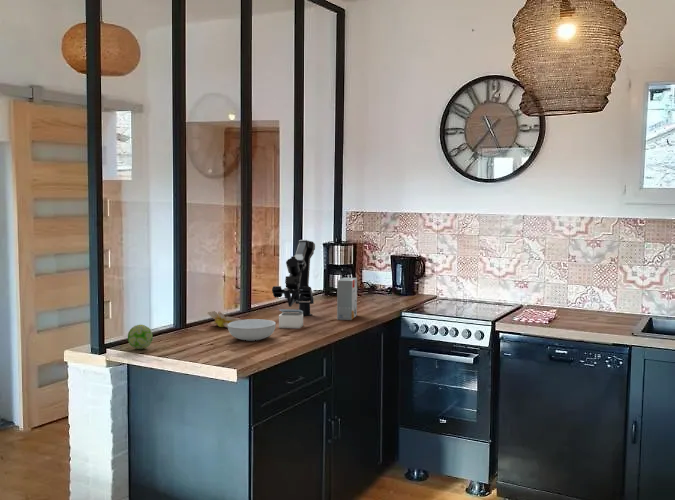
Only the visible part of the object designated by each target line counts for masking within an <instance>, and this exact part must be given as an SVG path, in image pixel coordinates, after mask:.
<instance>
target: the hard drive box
mask: <svg viewBox="0 0 675 500" xmlns="http://www.w3.org/2000/svg"><path fill="white" fill-rule="evenodd" d="M357 283H358V278H357V277H342V278H340V279H338V280H337V286H336V287H337V294H336V299H337V300H336V320H342V321H352V320H353V319H355V317H357V315H358V314H357V313H358V312H357V311H358V309H357V308H358V303H357V302H358V301H357V300H358V284H357Z"/></svg>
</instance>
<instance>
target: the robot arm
mask: <svg viewBox="0 0 675 500" xmlns="http://www.w3.org/2000/svg"><path fill="white" fill-rule="evenodd" d="M315 250H316V243H315V242H314V241H311V240H309V239H300V240H298V242H297V248H296V252H295V255H293V256H290V258H288V259H287V260H286V262H285V264H286V267H287V272H288V273H289V275H288V276H285V279H284V284H285V287H284V288H282V286H281V285H274V286H272V289H271V292H272V295H273V297H274V298H281V297H283V296H284V298H285V299H286V300H287V305H288V307H289V308H291V307H292V306H293V305H294V303H295V304H296V305H298V310H302V311H303V317H309V316H313V313H311V305H313V304H314V302H315V301H314V295H313V291H312V287H311V286H310V285H309V281H310V269H311V267H310V266H311V259H312V257H313V255H314V253H315Z"/></svg>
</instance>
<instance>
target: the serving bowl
mask: <svg viewBox="0 0 675 500" xmlns="http://www.w3.org/2000/svg"><path fill="white" fill-rule="evenodd" d="M276 325H277V323H276V321H274V320H271V319H270V320H269V319H258V318H249V319H247V318H246V319H240V320H238V321H233V322H230V323H228V325H227V326H228V327H227V329H228V332H229V334H230V336H232V337H234V338H235V339H239V340H242V341H245V340H246V341H247V342H248V341H249V342H255V340H256V341H260V340H263V339H266V338H268V337H270V336H271V335H273V333H274V332H275V329H276Z"/></svg>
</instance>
